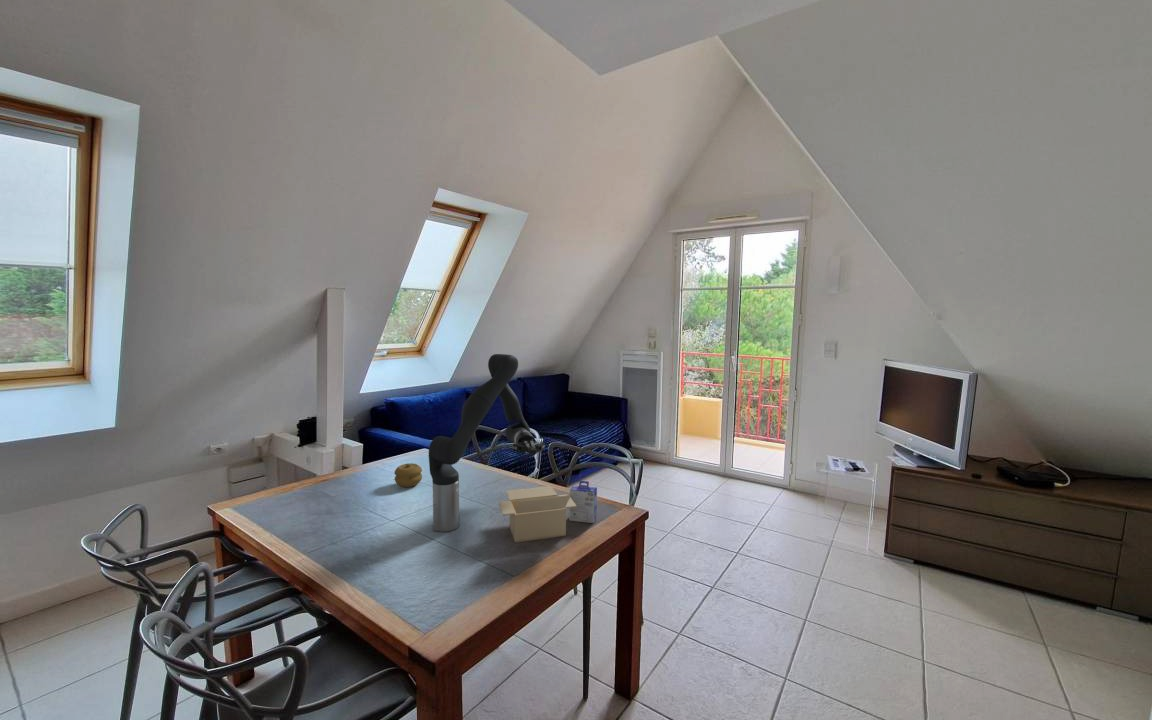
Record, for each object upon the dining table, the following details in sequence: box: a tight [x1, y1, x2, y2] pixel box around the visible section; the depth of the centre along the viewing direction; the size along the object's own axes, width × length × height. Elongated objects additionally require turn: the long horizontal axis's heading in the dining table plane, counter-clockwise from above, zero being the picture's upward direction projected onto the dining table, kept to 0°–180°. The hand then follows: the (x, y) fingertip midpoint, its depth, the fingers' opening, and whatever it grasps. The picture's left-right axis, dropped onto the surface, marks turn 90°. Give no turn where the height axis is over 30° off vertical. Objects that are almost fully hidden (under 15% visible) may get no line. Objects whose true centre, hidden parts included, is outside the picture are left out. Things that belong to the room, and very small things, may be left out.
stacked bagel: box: [394, 462, 423, 488], centre depth 211 cm, size 12×12×10 cm
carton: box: [498, 485, 577, 544], centre depth 173 cm, size 26×21×10 cm
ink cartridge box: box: [568, 480, 598, 524], centre depth 179 cm, size 10×6×14 cm, turn 78°
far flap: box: [516, 494, 570, 513], centre depth 159 cm, size 17×9×1 cm
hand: (533, 452), depth 173 cm, fingers closed
